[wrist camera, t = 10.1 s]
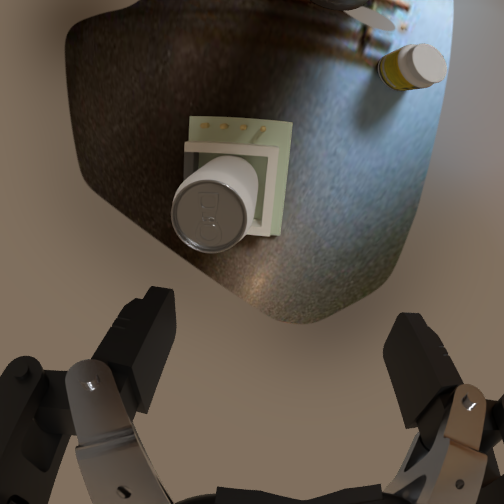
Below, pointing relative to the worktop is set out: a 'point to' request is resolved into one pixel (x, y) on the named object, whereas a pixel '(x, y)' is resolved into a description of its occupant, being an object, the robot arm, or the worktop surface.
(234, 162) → the can
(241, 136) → the socket board
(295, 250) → the worktop surface
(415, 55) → the supplement bottle
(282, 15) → the worktop surface
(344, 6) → the robot arm
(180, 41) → the worktop surface
